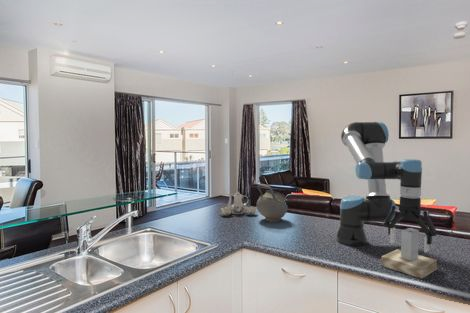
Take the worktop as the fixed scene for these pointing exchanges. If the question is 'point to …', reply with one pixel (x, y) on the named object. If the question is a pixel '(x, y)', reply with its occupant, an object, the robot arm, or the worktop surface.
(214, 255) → the worktop surface
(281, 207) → the pot
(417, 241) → the skincare box
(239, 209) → the chinaware
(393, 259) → the base block
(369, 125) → the robot arm
